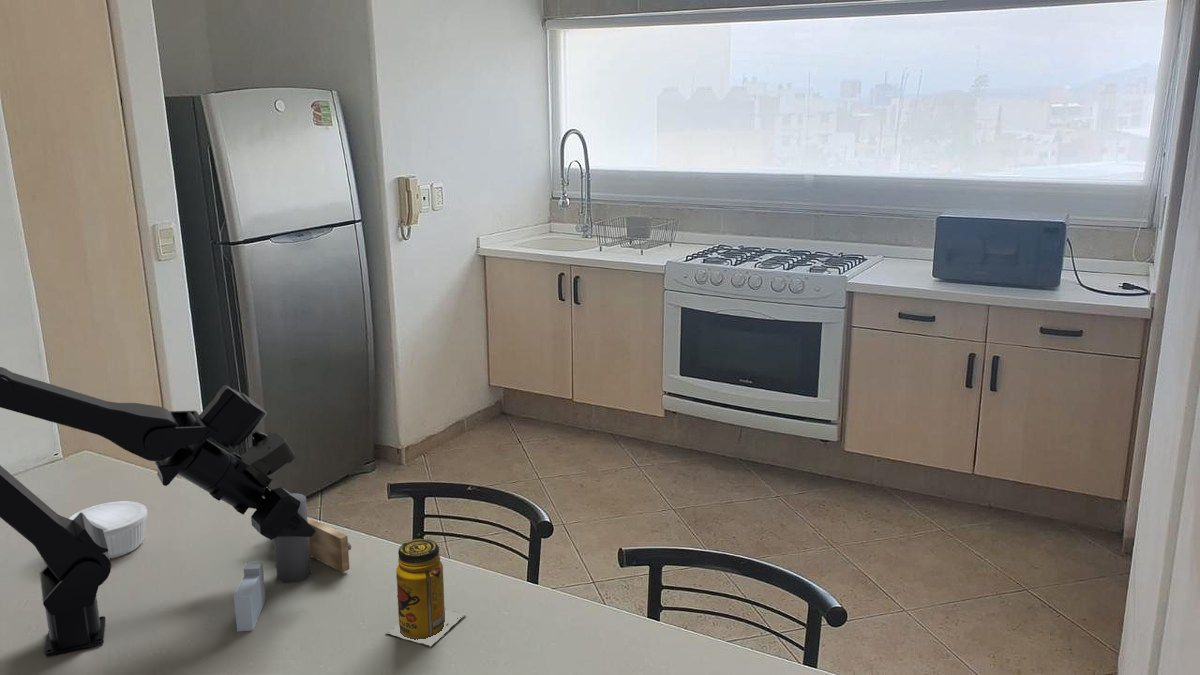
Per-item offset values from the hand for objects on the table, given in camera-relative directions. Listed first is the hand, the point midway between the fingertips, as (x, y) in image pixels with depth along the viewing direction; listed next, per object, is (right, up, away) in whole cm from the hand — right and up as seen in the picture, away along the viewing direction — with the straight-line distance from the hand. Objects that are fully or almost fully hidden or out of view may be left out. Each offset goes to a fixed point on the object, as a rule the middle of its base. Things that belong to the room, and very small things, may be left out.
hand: (300, 522), depth 131 cm
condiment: (+21, -12, -11) cm, 26 cm away
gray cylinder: (-1, -8, +1) cm, 8 cm away
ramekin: (-33, -6, +9) cm, 34 cm away
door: (+1, -6, +6) cm, 9 cm away
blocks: (-5, -8, +1) cm, 10 cm away
